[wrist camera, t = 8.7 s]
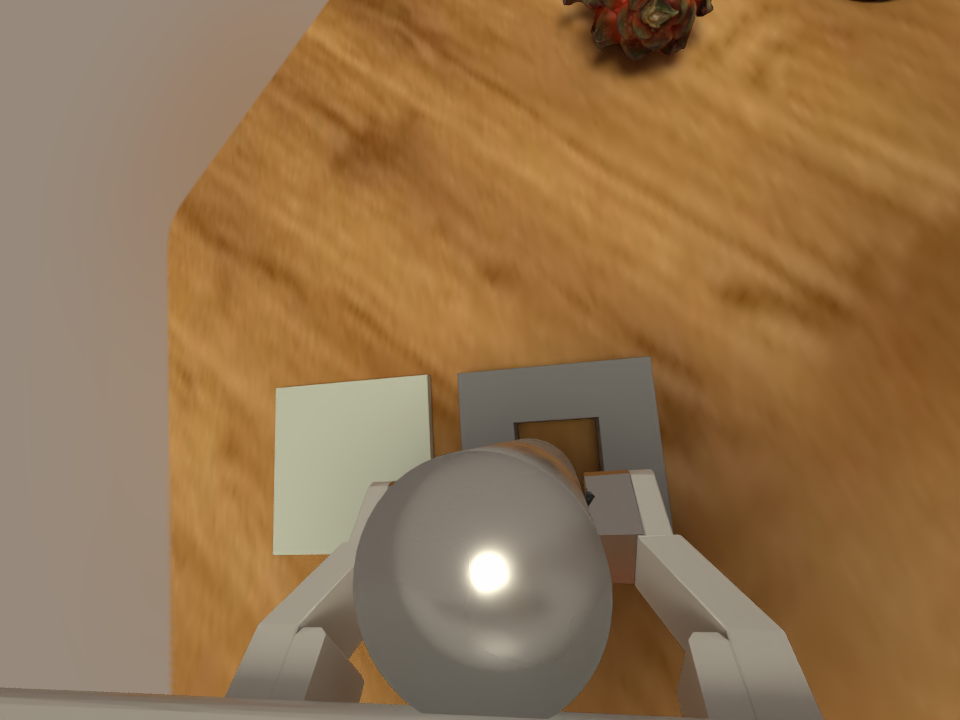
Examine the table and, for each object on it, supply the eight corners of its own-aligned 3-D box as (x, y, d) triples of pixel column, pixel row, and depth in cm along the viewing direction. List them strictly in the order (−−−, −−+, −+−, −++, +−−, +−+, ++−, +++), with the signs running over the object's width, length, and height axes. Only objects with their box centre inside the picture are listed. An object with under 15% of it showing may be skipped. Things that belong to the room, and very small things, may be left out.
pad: (282, 389, 34) (276, 388, 33) (430, 375, 32) (427, 374, 31) (280, 551, 32) (273, 554, 31) (437, 549, 30) (434, 552, 29)
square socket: (467, 378, 31) (457, 373, 28) (641, 363, 29) (650, 356, 26) (477, 555, 29) (468, 569, 26) (665, 552, 27) (678, 567, 24)
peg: (508, 422, 17) (422, 408, 6) (594, 465, 16) (658, 528, 6) (468, 506, 17) (310, 635, 6) (553, 553, 16) (540, 797, 5)
